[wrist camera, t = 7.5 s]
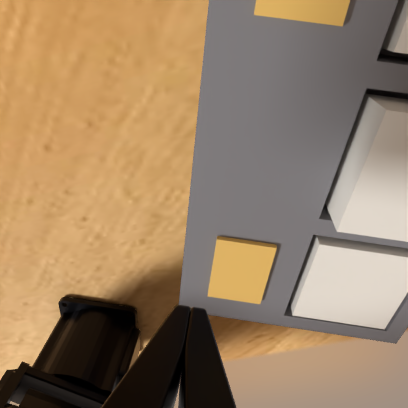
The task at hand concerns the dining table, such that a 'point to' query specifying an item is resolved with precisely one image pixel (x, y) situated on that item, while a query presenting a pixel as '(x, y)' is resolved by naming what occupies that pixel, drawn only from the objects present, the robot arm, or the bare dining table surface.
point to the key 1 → (351, 282)
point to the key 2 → (398, 30)
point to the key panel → (279, 149)
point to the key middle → (374, 172)
